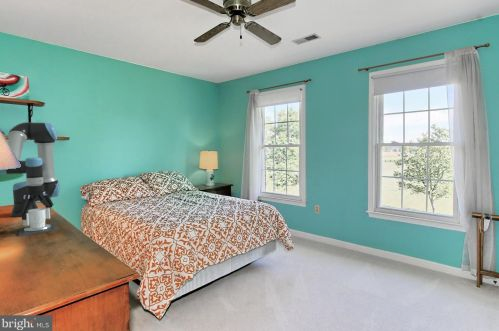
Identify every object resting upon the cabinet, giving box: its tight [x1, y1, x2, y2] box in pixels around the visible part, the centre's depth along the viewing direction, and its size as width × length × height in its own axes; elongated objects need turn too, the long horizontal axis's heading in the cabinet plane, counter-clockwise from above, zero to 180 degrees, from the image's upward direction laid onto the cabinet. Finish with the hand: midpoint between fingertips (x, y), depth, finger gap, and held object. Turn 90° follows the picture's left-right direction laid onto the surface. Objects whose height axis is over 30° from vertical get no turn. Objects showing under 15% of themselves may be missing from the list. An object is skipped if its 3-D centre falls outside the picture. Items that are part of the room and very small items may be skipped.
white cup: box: [28, 207, 46, 229], centre depth 154 cm, size 8×8×10 cm
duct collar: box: [18, 222, 56, 237], centre depth 154 cm, size 14×16×2 cm
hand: (37, 221), depth 154 cm, fingers open, 13 cm apart
